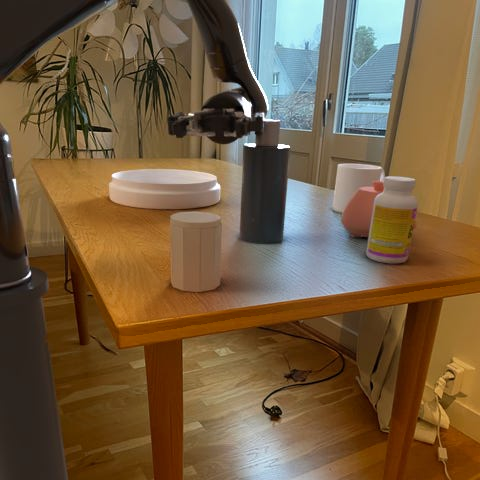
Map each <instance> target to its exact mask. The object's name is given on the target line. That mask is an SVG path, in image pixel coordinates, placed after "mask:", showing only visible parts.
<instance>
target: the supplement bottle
mask: <svg viewBox="0 0 480 480" xmlns="http://www.w3.org/2000/svg"><path fill="white" fill-rule="evenodd" d="M416 182H417V180H416V179H415V178H412V177H406V176H395V175H390V176H385V178H384V183H383V185H384V191H383V193H380V194H378V195H377V196H376V198H375V200H374V206H373V213H372V219H371V225H370V232H369V237H367V245H366V251H365V255H366V256H367V258H368V259H369V260H372V261H374V262H378V263H381V264H382V263H383V264H391V265H392V264H393V265H394V264H402V263H405V262H406V261H407V260H408V258H409V253H410V249H411V243H412V238H413V233H414V230H413V228H414V222H415V221H416V216H417V211H418V208H419V207H418V206H419V201H418V199H417V197H416V196H414V195H413V190H415V188H416Z"/></svg>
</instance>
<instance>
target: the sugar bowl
mask: <svg viewBox="0 0 480 480" xmlns="http://www.w3.org/2000/svg"><path fill="white" fill-rule="evenodd" d="M383 183H384V181H373V185H374V187H361V188H359V189H358V190H357V191H356V192H355V194H354V195H353V196H352V197H351V199H350V200H349V202H348V203H347V205H346V207H345V209H344V211H343V213H341V217H340V220H341V224H342V226H343V228H344V230H346V232H347V233H349V234H350V236H351V237H353V238H362V237H364V238H369V232H370V225H371V219H372V213H373V206H374V200H375V198H376V196H377V195H378V194H380V193H383V191H384V185H383ZM417 225H418V224H417V221H416V220H415V222H414V228H413V231H414V230H415V229H416V228H417Z"/></svg>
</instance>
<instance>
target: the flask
mask: <svg viewBox="0 0 480 480" xmlns="http://www.w3.org/2000/svg"><path fill="white" fill-rule="evenodd" d="M280 129H281V120H279V119H264V131H263V134H262V135H260V136H258V135H255V139H254V140H255V141H254V143H244V144H243V145H242V167H241V193H240V214H239V239H240V240H242V241H244V242H248V243H253V244H261V245H264V244H266V245H267V244H270V245H271V244H276V243H281V242H282V241H283V240H284V230H285V219H286V218H285V217H286V206H287V194H288V193H287V192H288V183H289V170H290V168H289V167H290V156H291V146H290V145H285V144H280V132H281V131H280Z"/></svg>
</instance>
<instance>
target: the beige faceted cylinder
mask: <svg viewBox="0 0 480 480" xmlns="http://www.w3.org/2000/svg"><path fill="white" fill-rule="evenodd" d="M169 217H170V219H169V220H170V221H169V250H170V251H169V254H170V256H169V257H170V283H171V286H172V287H173V288H174V289H176V290H180V291H183V292H189V293H190V292H191V293H192V292H193V293H202V292H208V291H212V290H215V289H217V288H218V287H219V286H220V285H221V274H222V273H221V268H222V267H221V265H222V232H223V231H222V230H223V229H222V228H223V227H222V225H223V224H222V223H221V222H222V221H221V220H222V217H221V216H220V215H218V214H216V213H212V212H205V211H181V212H180V211H179V212H176V213H172V214H171V215H170V216H169Z"/></svg>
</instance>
